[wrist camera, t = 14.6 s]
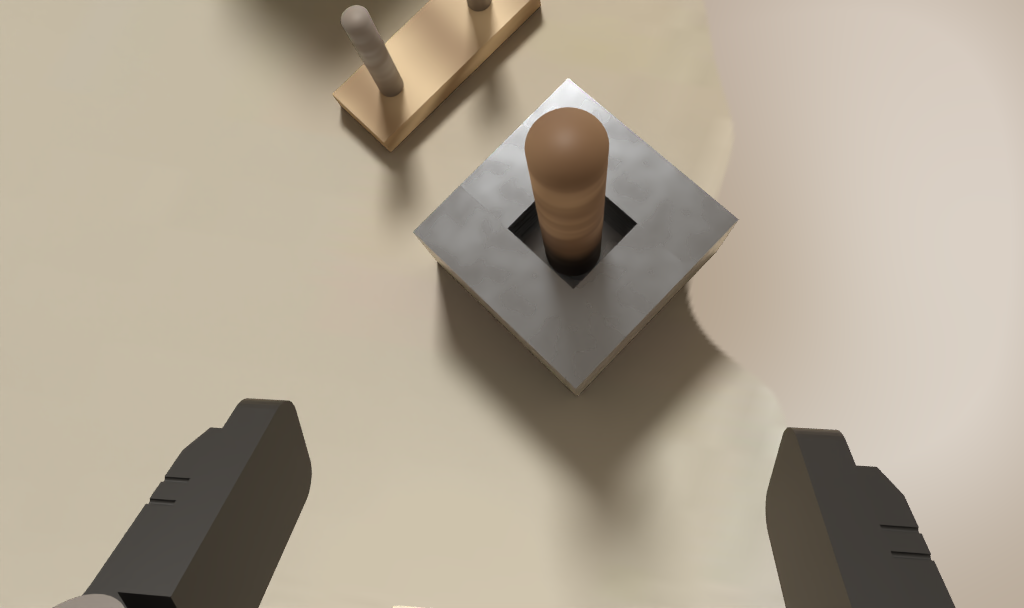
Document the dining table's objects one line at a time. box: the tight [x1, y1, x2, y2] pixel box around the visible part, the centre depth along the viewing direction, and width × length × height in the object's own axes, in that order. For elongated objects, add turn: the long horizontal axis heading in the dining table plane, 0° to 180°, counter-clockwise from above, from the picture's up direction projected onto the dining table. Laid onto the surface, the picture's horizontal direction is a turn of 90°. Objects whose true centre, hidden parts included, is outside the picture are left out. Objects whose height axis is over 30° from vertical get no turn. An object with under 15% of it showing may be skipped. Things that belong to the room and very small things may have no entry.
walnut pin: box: [525, 107, 609, 276], centre depth 32 cm, size 3×3×14 cm
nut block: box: [413, 78, 738, 396], centre depth 38 cm, size 12×12×6 cm
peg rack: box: [333, 0, 541, 152], centre depth 41 cm, size 14×5×8 cm, turn 135°
